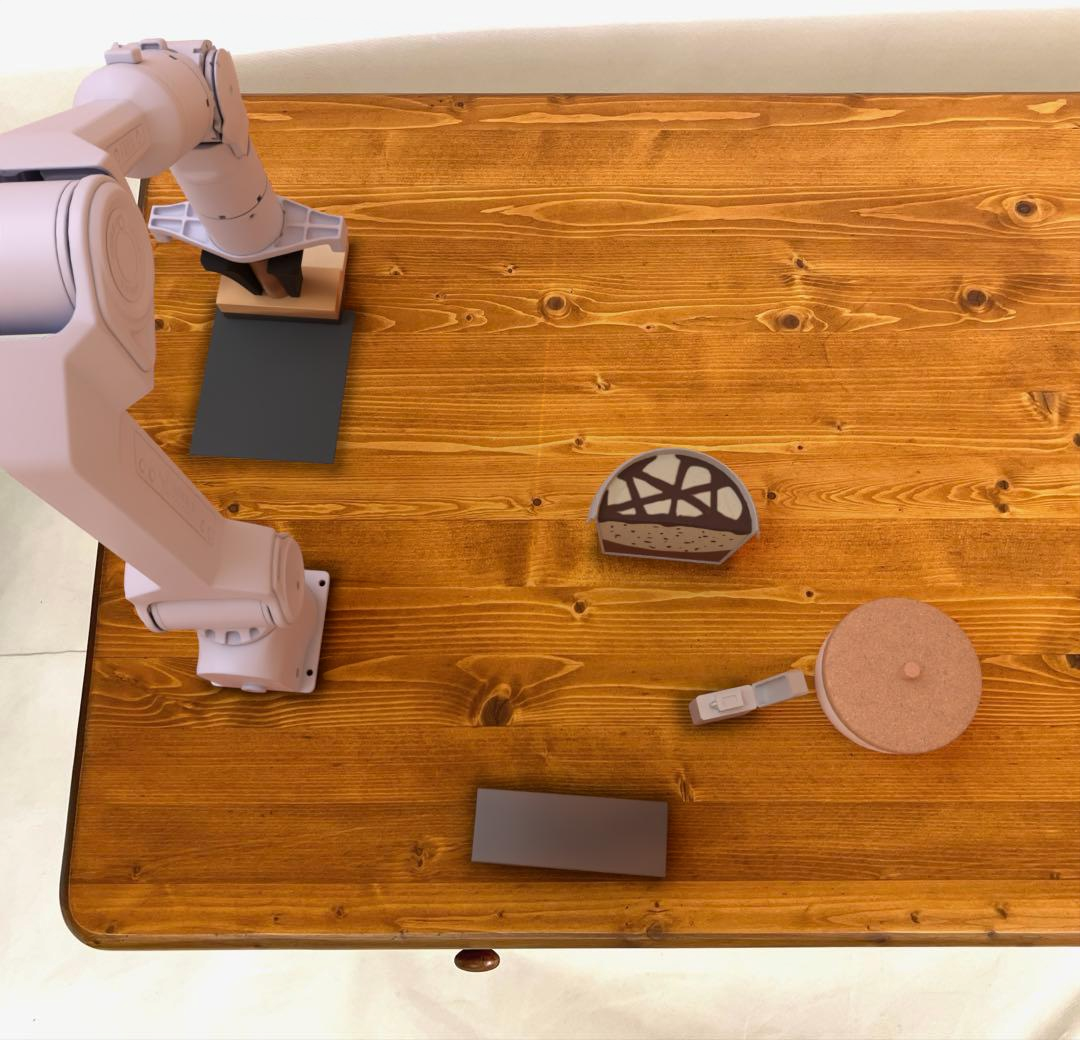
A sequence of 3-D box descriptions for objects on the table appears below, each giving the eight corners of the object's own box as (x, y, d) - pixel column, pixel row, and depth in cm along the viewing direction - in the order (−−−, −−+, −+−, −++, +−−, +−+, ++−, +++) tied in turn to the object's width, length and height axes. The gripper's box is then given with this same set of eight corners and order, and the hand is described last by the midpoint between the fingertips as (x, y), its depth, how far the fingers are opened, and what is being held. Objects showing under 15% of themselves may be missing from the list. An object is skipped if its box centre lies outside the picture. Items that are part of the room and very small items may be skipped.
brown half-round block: (742, 492, 79) (768, 447, 69) (739, 566, 77) (765, 531, 67) (589, 479, 79) (594, 432, 70) (583, 552, 78) (587, 514, 68)
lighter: (693, 726, 74) (709, 715, 66) (687, 703, 74) (703, 690, 66) (784, 705, 74) (811, 692, 66) (778, 683, 74) (803, 667, 67)
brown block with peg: (340, 325, 83) (319, 275, 76) (225, 318, 84) (191, 267, 76) (347, 283, 84) (326, 230, 77) (232, 276, 85) (200, 222, 77)
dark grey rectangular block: (656, 872, 71) (665, 877, 65) (477, 858, 71) (470, 861, 65) (659, 803, 72) (668, 802, 66) (483, 789, 72) (477, 787, 67)
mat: (334, 465, 80) (333, 463, 80) (190, 456, 80) (188, 454, 80) (356, 312, 84) (355, 310, 84) (218, 304, 84) (217, 302, 84)
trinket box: (936, 772, 72) (990, 765, 63) (790, 745, 73) (824, 736, 64) (944, 630, 75) (997, 605, 66) (805, 606, 76) (838, 578, 67)
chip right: (344, 286, 85) (341, 279, 84) (298, 283, 85) (295, 276, 84) (350, 246, 86) (347, 238, 85) (305, 243, 86) (301, 235, 85)
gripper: (336, 142, 69) (370, 248, 82) (135, 131, 70) (201, 239, 83) (322, 228, 67) (360, 323, 80) (116, 217, 68) (186, 313, 81)
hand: (278, 286), depth 82 cm, fingers closed on brown block with peg, 2 cm apart
